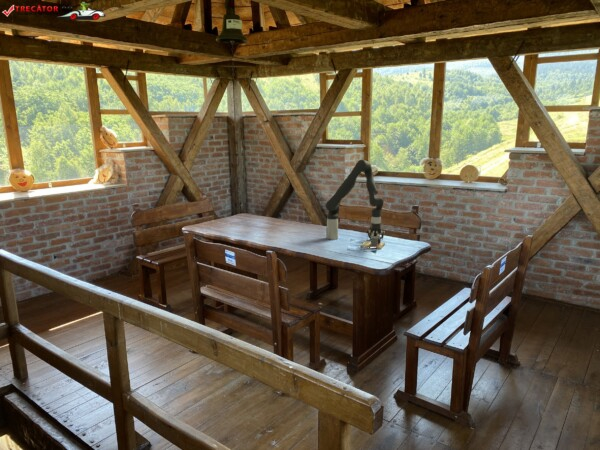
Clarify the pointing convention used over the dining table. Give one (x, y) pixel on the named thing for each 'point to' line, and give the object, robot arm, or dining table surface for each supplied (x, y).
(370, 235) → the multimeter
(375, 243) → the block
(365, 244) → the board
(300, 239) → the dining table surface
